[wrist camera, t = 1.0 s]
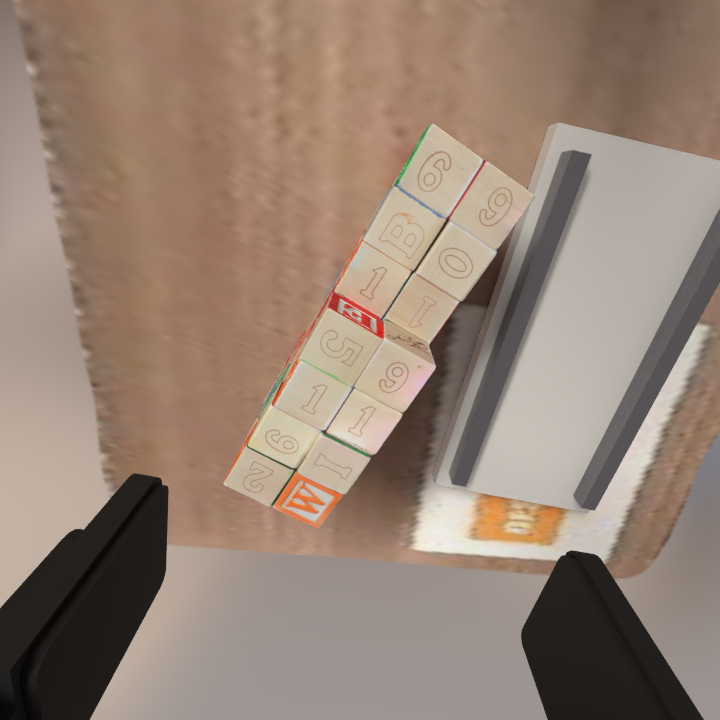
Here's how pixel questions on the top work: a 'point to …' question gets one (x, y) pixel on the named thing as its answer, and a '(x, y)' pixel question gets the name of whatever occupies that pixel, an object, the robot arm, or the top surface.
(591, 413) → the base board
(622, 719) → the robot arm
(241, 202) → the top surface
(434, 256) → the stack of blocks
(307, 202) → the top surface
